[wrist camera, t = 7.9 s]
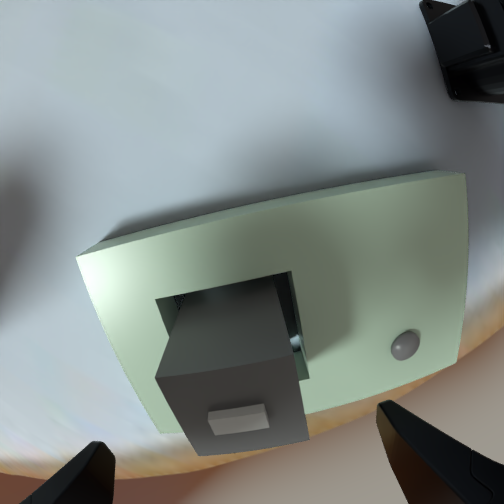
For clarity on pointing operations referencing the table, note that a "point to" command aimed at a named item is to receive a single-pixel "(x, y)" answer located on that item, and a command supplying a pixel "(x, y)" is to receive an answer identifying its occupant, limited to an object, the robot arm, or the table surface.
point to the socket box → (304, 283)
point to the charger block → (233, 370)
